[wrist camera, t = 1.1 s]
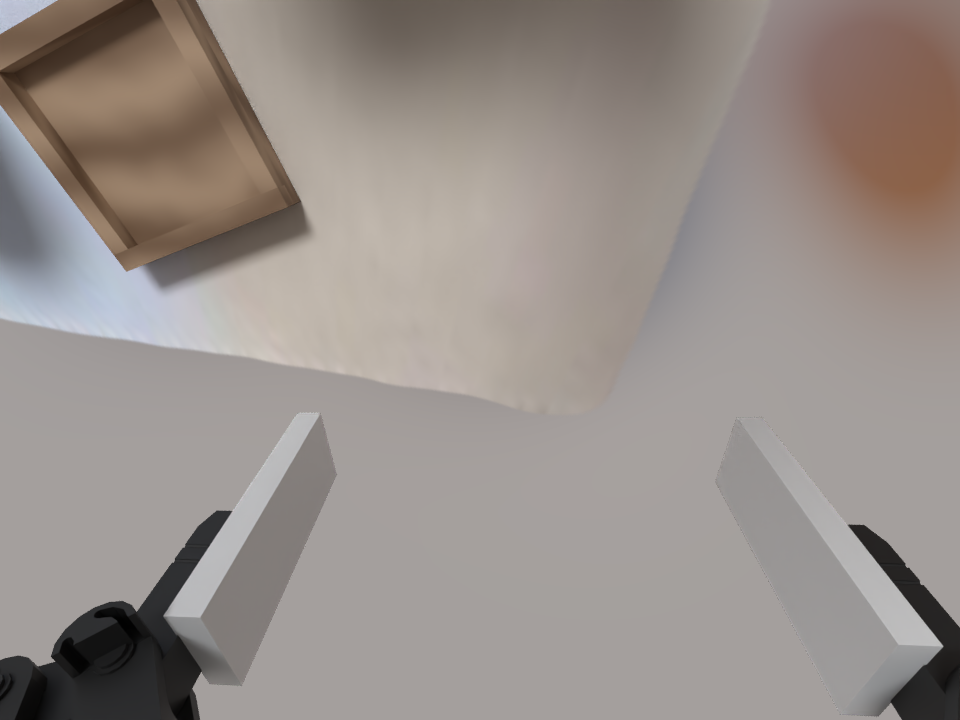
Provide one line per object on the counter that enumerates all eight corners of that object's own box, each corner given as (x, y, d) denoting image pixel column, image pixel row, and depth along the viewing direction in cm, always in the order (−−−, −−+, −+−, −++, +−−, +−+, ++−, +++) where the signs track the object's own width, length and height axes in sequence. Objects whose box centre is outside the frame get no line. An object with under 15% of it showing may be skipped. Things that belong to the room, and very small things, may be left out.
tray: (-2, 59, 32) (-37, 56, 30) (173, -42, 29) (147, -53, 27) (146, 262, 40) (126, 271, 38) (300, 201, 36) (288, 206, 34)
